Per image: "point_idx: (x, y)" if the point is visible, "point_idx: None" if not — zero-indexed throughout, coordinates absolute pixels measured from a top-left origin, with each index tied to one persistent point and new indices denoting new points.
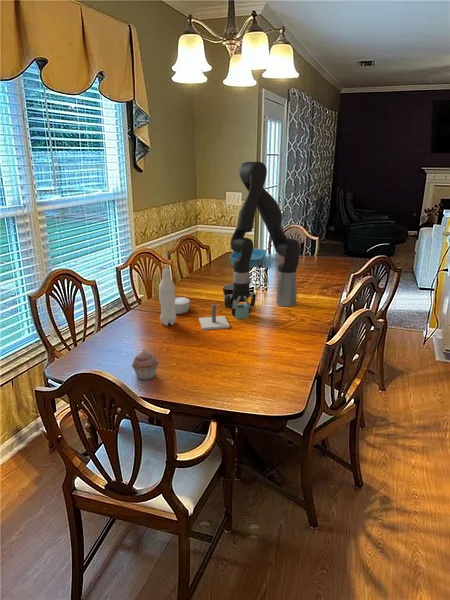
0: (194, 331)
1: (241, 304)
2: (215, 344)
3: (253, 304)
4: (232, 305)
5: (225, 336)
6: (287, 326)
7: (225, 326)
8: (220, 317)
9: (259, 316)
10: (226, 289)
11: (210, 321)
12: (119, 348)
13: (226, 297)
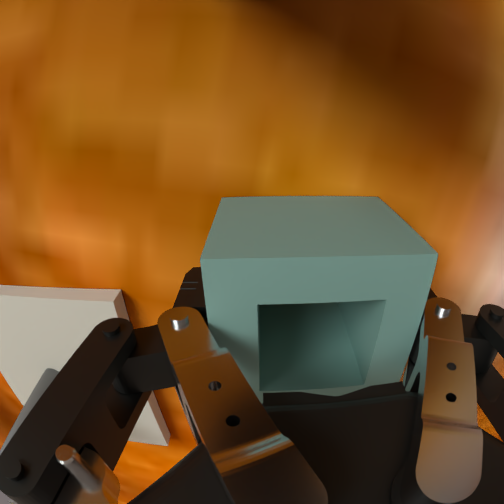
0: (13, 405)
1: (353, 283)
2: (126, 492)
3: (476, 375)
4: (170, 381)
5: (154, 476)
6: (482, 419)
7: (142, 441)
8: (82, 323)
9: (460, 293)
10: None
11: (36, 368)
12: None
13: (18, 430)
